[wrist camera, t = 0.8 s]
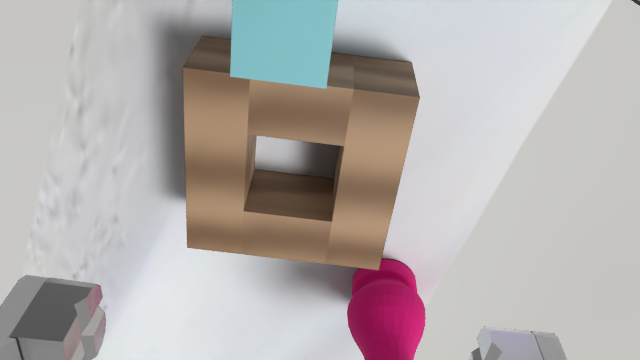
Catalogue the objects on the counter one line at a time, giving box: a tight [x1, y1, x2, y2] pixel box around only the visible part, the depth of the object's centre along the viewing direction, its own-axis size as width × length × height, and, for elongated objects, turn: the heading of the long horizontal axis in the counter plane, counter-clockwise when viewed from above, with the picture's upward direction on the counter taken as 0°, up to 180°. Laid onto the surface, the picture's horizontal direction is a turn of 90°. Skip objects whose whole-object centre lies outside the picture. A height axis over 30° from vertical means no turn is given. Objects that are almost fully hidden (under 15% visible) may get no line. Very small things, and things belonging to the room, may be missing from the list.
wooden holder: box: [183, 36, 420, 270], centre depth 45 cm, size 16×16×6 cm
